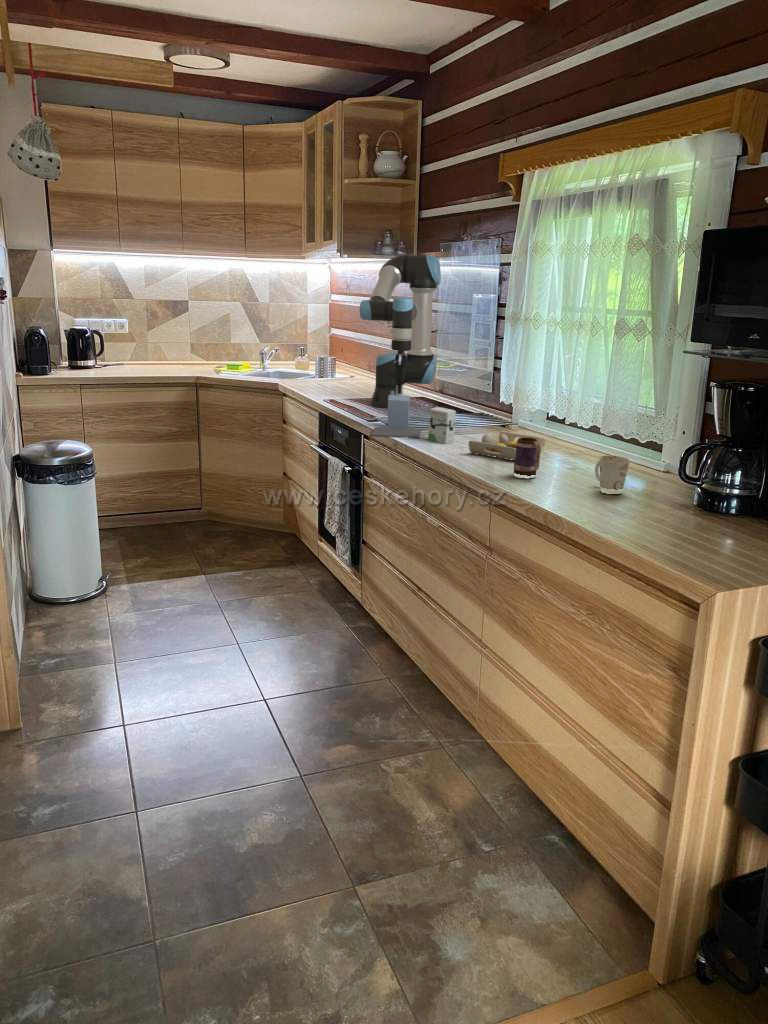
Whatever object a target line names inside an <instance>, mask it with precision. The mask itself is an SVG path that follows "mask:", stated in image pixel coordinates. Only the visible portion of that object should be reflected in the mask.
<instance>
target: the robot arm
mask: <svg viewBox="0 0 768 1024" xmlns="http://www.w3.org/2000/svg"><path fill="white" fill-rule="evenodd" d="M441 274H442V273H441V264H440V261H439V258H438V257H437V256H436V255H428V254H399V255H396V256H394V257H392V258H390V259H388V260H387V261H386V262H385V263H383V265H382V266H381V268H380V270H379V272H378V280H377V283H376V284H375V286H374V288H373V291H372V293H371V296H370V298H369V299H363V300H361V301H360V305H359V317H360V319H362V320H365V321H369V322H371V321H376V322H377V321H379V322H392V327H391V328H392V329H391V330H389V331H390V333H392V334H391V350H392V351H396V352H387V353H381V354H379V355H377V356H376V360H375V361H376V363H375V387H374V392H373V394H372V397H371V400H370V405H371V406H372V407H376V408H382V409H383V408H385V409H388V397H389V395H404V385H406V384H419V385H429V384H432V383H433V382H434V379H435V374H436V371H437V364H438V363H437V362H438V359H437V357H435V356H434V352H433V351H432V349H431V342H432V320H433V316H432V315H433V300H434V298H433V297H434V292H435V291H436V290H437V288H438V287H437V286H439V285H441V279H442V278H441V277H442V275H441ZM399 284H409V286H408V287H409V289H410V290H411V292H412V297H406V296H405V297H404V296H403V297H402V296H396V297H394V298H393V300H391V298H392V295H393V294H394V292H395V289H396V286H398V285H399ZM405 351H406V352H407V353H406V354H405Z"/></svg>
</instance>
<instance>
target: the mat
mask: <svg viewBox="0 0 768 1024" xmlns="http://www.w3.org/2000/svg"><path fill="white" fill-rule="evenodd" d="M421 433H422V429H417V428H408V429H401V428H388V427H378V426H377V427H376V426H375V427H374V428H373V430H372V431H371V434H370V436H371V437H380V438H382V437H383V438H402V437H408V438H407V439H420V437H421Z"/></svg>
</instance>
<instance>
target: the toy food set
mask: <svg viewBox="0 0 768 1024" xmlns="http://www.w3.org/2000/svg"><path fill="white" fill-rule="evenodd" d="M515 438H534V439H537V442H539V443H540V444H541V453H542V452H543V451H544V449H545V447H546V444H547V443H546V442H547V439H546V438H545V437H542V436H536V435H530V434H525V433H517V432H511V431H505V430H502V431H500V432H499V434H498V439H497V441H495V442H494V438H493V435H492V434H491V432H486V433H485V434H484V435H483V436H482V437H481V441H477V440H469V441H468V449H469V452H470V453H471V452H472V453H471V454H474V453H478V454H477V455H479V454H484V455H483V456H485V455H490V456H496V457H501V458H507V459H513V460H515V456H516V448H517V441H518V439H517V440H516V439H515ZM490 456H489V457H490ZM496 457H495V458H496ZM501 458H500V459H501ZM507 459H506V460H507Z"/></svg>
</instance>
